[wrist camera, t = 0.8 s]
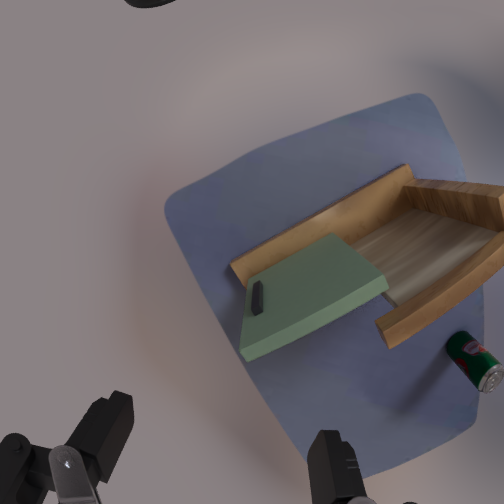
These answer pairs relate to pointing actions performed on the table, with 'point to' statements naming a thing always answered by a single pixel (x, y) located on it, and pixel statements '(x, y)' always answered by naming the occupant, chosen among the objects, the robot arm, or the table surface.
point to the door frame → (405, 243)
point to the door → (305, 294)
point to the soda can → (475, 361)
